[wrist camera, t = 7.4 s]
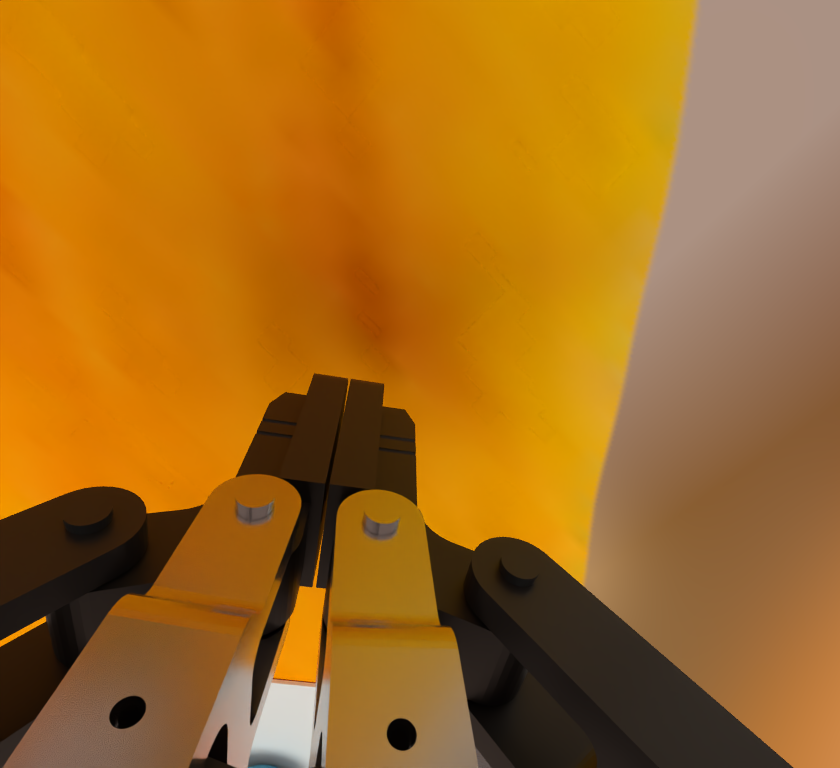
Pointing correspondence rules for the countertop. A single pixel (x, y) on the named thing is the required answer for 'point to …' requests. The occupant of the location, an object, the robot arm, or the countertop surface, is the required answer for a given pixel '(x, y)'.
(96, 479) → the countertop surface
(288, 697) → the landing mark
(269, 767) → the ball
